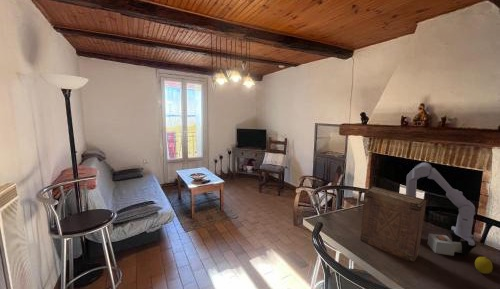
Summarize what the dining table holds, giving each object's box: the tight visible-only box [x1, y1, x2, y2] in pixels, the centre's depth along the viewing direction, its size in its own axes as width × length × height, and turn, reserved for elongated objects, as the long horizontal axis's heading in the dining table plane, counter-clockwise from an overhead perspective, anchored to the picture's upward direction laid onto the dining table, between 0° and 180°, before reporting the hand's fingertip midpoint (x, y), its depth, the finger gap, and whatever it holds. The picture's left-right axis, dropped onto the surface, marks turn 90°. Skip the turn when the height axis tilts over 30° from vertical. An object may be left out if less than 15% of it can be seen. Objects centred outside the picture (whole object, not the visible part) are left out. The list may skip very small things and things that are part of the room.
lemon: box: [474, 256, 493, 274], centre depth 99 cm, size 6×6×8 cm
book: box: [360, 186, 427, 264], centre depth 116 cm, size 25×9×30 cm, turn 41°
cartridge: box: [454, 242, 462, 254], centre depth 115 cm, size 13×5×5 cm, turn 75°
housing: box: [427, 233, 456, 257], centre depth 116 cm, size 8×8×6 cm
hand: (459, 249), depth 114 cm, fingers open, 7 cm apart
